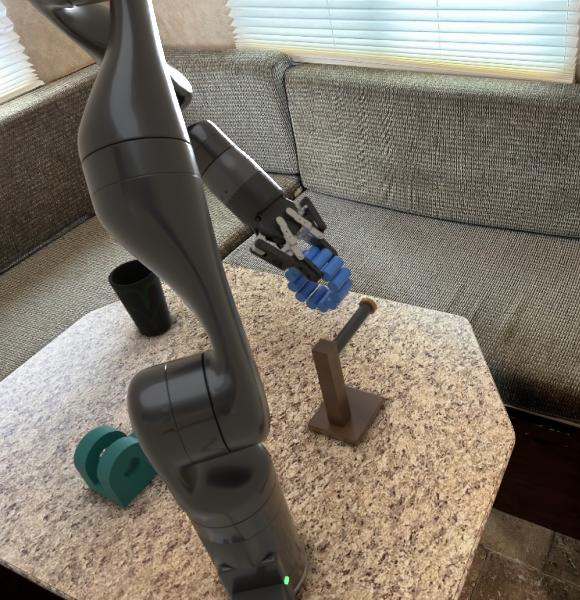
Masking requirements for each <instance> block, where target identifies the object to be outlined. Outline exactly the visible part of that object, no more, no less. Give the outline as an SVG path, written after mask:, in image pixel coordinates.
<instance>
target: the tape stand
mask: <svg viewBox="0 0 580 600" xmlns="http://www.w3.org/2000/svg"><path fill="white" fill-rule="evenodd" d="M356 309H357V310H355V312H353V314H352V315H351V317H350V318H349V319H348V321H346V323H345V325H344V326H343V327H342V328H341V329H340V331H339V332H338V333H337V334H336V336H335V338H333V340H329V339H326V338H323V337H320V338H319V339H318V340H317V342H316V343H315V344H314V345H313V347H312V348H311V349H310V350H311V355H312V359H313V363H314V367H315V371H316V376H317V379H318V383H319V387H320V391H321V396H322V400H323V401H322V403H321V404H320V405H319V407H318V409H317V410H316V411H315V412H314V414H313V416H312V417H311V418H310V419H309V421H308V422H307V427H308V430H310V431H313V432H316V433H319V434H321V435H325V436H328V437H330V438H333V439H336V440H339V441H342V442H345V443H348V444H351V445H354V446H357V447H358V446H359V445H360V443H361V441H362V440H363V438H364V437H365V435H366V434H367V431H368V430H369V429H370V427H371V426H372V424H373V422H374V420H375V419H376V417H377V416H378V414H379V413H380V411H381V410H382V409H383V406H384V404H385V403H386V402H385V396H383V395H379V394H376V393H372V392H369V391H365V390H362V389H359V388H356V387H352V386H349V385H347V384H346V383H345V377H344V372H343V367H342V362H341V359H340V355H341V353H342V352H343V351H344V349H345V348H346V347H347V345H348V344H349V342H350V341H351V340H352V339H353V337H354V336H355V335H356V333H357V332H358V330H359V329H360V328H361V327H362V325H363V324H364V323H365V321H366V320H367V319H368V317H369V316H372V315H373V314H375V313H376V311H377V309H378V305H377V303H376V302H375V301H374V300H373V299H372V298H371V297H363V298H362V299H360V300H359V302H358V308H356Z"/></svg>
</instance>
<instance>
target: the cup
mask: <svg viewBox="0 0 580 600" xmlns="http://www.w3.org/2000/svg"><path fill="white" fill-rule="evenodd" d="M107 281H108V283H109V285H110V286H111V288H112V290H113V291H114V293H115V295H116V297H117V298H118V299H119V301H120V303H121V304H122V306H123V308H124V309H125V310H126V312H127V313H128V314H129V315H128V316H129V317H130V318H131V320H132V322H133V323H134V324H135V326H136V328H137V330H138V331H139V333H140V334H141V335H142V336H144V337H147V338H153V337H157V336H161V335H163V334H164V333H166V332H168V331H169V329H171V327H172V324H173V320H172V316H171V313H170V308H169V305H168V303H167V300H166V296H165V293H164V289H163V286H162V282H161V279H160V278H159V277H158V276H157V275H156V274H154V273H153V272H152V271H151V270H149V269H148V268H147V267H146V266H145V265H143V264H142V263H141V262H140V261H138V260H137V259H132V260H128V261H126V262H123V263H121V264H119V265H117V266H116V267H115V268H113V270H112V271H110V273H109V274H108V277H107Z"/></svg>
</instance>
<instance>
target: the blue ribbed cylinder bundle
mask: <svg viewBox="0 0 580 600" xmlns="http://www.w3.org/2000/svg"><path fill="white" fill-rule="evenodd" d="M301 252H302V253H303V255H304V258H305V257H307V258H308V259H309V260H310V261H311V262H312V263H313V264H314V265H315V266H316V267H317V268H318V269H319V270H321V271H322V273H323V277H322V278H321V279H320V280H323V282H327V284H326V285H323V284H320V285H319V281H318V282H316V283H315V282H313V281H312V282H311V281H309V280H308V279H307V278H306V277H305V276H304V275H303V274H302V273H301V272H300V271H299V270H298V269H296V268H295V267H290V268H288V269H286V270H285V273H284V277H285V279H286V280H287V281H288V283H287V284H286V285H287V288H288V290H289V291H290V292H292V293H295V294H294V298H295V299H296V300H297V301H298V302H299V303H305V305H306V307H307V308H308V309H310V310H312V311H314V310H316V309H317V310H318V311H319V312H321V313H324V314H326V313H327V312H328V311H329V310H330V311H335V310H336V309H338V307H339V306H340V305H341V303H342V302H343V301H344V300H345V299H346V297H347V296H348V295H349V292H350V290H351V288H352V287H353V286H354V282H353V280H352V279H351V276H352V272H351V270H350V268H349V267H347V266H344V264H345V262H344V260H343V258H342V257H340V256H339V257H338V256H334V257H333V254H332V252H331V251H330V250H329V249H327V248H324V249H322V250H321V251H320V249H319V248H318V247H316V246H310V247H309V248H308V249H306V248H305V249H302V250H301ZM332 257H333V258H332ZM331 258H332V259H331ZM330 259H331V260H330ZM329 260H330V261H329Z"/></svg>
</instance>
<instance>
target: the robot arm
mask: <svg viewBox="0 0 580 600" xmlns="http://www.w3.org/2000/svg"><path fill="white" fill-rule="evenodd" d="M26 1H27V2H28V3H29V4H30V5H31V6H32V7H33V9H35V10H36V11H37V12H38V13H40V15H42V17H44V18H45V19H46V20H47V21H48V22H50V23H51V24H52V25H53V26H54V27H56V28H57V29H58V30H59V31H60V32H61V33H62V34H64V35H65V37H67V38H69V39H70V40H71V41H72V42H73V43H74V44H76V45H77V46H78V47H80V48H81V49H82V50H83V51H84V52H85V53H87V54H88V55H89V56H90V57H91V59H92V60H93V61H94V62H95V63H96V65H98V67H99V70H98V73H97V75H96V78H95V80H94V82H93V85H92V88H91V90H90V93H89V96H88V98H87V101H86V103H85V107H84V110H83V113H82V116H81V119H80V124H79V127H78V132H77V143H76V144H77V151H78V157H79V160H80V164H81V169H82V171H83V175H84V179H85V182H86V185H87V189H88V194H89V196H90V199H91V204H92V208H93V211H94V213H95V216H96V218H97V220H98V222H99V223H100V224H101V226H102V227H103V228H104V230H105V231H106V232H107V233H108V235H110V236H111V238H113V240H114V241H115V242H117V243H118V244H119V245H120V246H121V247H122V248H123V249H124V250H125V251H126V252H128V253H129V254H130V255H131V256H132V257H133V258H135V260H138V261H140V262H141V263H142V264H143V265H145V266H146V267H147V268H148V269H149V270H151V271H152V272H153V273H154V274H156V275H157V276H158V277H159V278H160V281H162V282H163V283H164V284H166V285H167V286H168V287H169V289H171V290H172V292H174V294H175V295H177V297H178V298H179V299H180V300H181V301H182V302H183V303H184V305H186V307H188V309H189V310H190V311H191V313H192V314H193V315H194V317H196V320H197V321H198V322H199V324H200V326H201V328H202V329H203V331H204V333H205V334H206V336H207V338H208V340H209V343H210V347H211V348H210V349H207V350H205V351H200V352H196V353H193V354H188V355H186V356H183V357H180V358H179V357H178V358H176V359H172V360H169V361H168V360H167V361H165V362H161V363H157V364H154V365H151V366H148V367H145V368H143V369H140V370H139V371H137V372H136V373H135V374H134V375H133V376H132V378H131V379H130V381H129V384H128V387H127V392H126V407H127V414H128V419H129V422H130V425H131V429H132V432H133V431H134V433H135V436H136V438H137V440H138V442H139V444H140V446H141V448H142V450H143V452H144V454H145V455H146V457H147V458H148V460H149V462H150V463H151V465H152V466H153V468H154V469H155V471H156V472H157V473H158V474H157V475H158V477H159V478H161V481H162V482H163V484H164V485H165V486H166V488H167V490H168V491H169V493H170V494H171V496H172V497H173V499H174V501H175V502H176V504H177V506H178V507H179V508H180V509H181V510H182V511H183V512H184V513H185V514H186V516H187V518H188V519H189V522H190V523H191V525H192V527H193V529H194V530H195V531H194V532H196V534H197V536H198V538H199V540H200V541H201V544H202V546H203V547H204V549H205V551H206V552H207V554H208V556H209V558H210V560H211V561H212V563H213V566H214V567H215V569H216V570H217V571H216V572H217V577H218V578H219V581H220V582H221V584H222V585H223V587H224V589H225V591H226V593H227V594H228V596H229V598H230V600H296V596H297V593H298V592H299V591H300V590H301V588H302V586H303V584H304V583H305V580H306V578H307V574H308V569H309V561H308V560H309V559H308V555H307V552H306V549H305V547H304V545H303V543H302V541H301V538H300V534H299V533H298V530H297V526H296V524H295V522H294V519H293V515H292V513H291V510H290V508H289V505H288V502H287V499H286V496H285V492H284V491H283V488H282V484H281V482H280V479H279V477H278V473H277V471H276V467H275V464H274V462H273V460H272V457H271V454H270V452H269V450H268V448H267V447H266V446H265V445H264V443H263V442H265V441H266V440H267V438H268V437H269V435H270V432H271V422H272V421H271V412H270V406H269V402H268V397H267V393H266V390H265V386H264V383H263V381H262V377H261V373H260V370H259V367H258V365H257V362H256V359H255V357H254V353H253V350H252V347H251V345H250V341H249V339H248V335H247V333H246V330H245V327H244V325H243V321H242V318H241V316H240V313H239V309H238V307H237V304H236V301H235V298H234V295H233V292H232V289H231V287H230V283H229V281H228V278H227V277H228V276H227V274H226V271H225V268H224V267H225V266H224V263H223V260H222V256H221V253H220V250H219V246H218V242H217V237H216V233H215V230H214V224H213V221H212V216H211V213H210V208H209V205H208V201H207V200H208V199H207V197H206V193H205V188H204V185H205V187H206V188H207V189H208V190H209V192H210V193H211V194H212V195H213V196H214V197H215V198H216V199H217V200H218V201H219V202H220V203H221V204H222V205H223V206H224V207H225V208H227V210H229V212H231V213H232V214H233V215H234V216H235V217H236V218H237V219H238V221H240V222H241V223H242V224H243V225H244V226H245V227H250V228H251V229H252V230H253V232H254V235H255V236H256V237H255V240H254V242H253V244H251V246H250V247H249V249H248V250H249V253H251V254H252V255H253V256H255V257H257V258H259V259H261V260H262V261H264V262H266V263H268V264H270V265H271V266H273V267H275V268H276V269H278V270H280V271H282V272H284V271H285V272H286V271H287V270H288V268H290V267H295V268H296V269H298V270H299V271H300V272H301V273H302V274H303V275H304V276H305V277H306V278H307V279H308V280H309V281H311V282H312V281H313V282H315V283H316V282H318V283H319V281H320V280H322V279H321V278H322V277H323V273H322V271H321V270H322V269H321V270H319V269H318V268H317V267H316V266H315V265H314V264H313V263H312V262H311V261H310V260H309V259H308V258H307V257H305V258H304V255H303V253H302V252H301V251H302V250H301V249H300V248H299V246H298V241H303V242H305V243H307V245H310V247H312V246H316V247H318V248H319V249H320V251H321V250H322V249H324V248H327V249H329V250H330V251H331V252H332V254H333V257H334V256H338V257H340V255H339V254H338V251H337V250H336V249H335V248H334V247H333V246H332V245H331V244H330V243H329V242H328V241H327V240H326V239H325V236H324V234H325V231H326V230H327V228H328V227H327V224H326V223H325V221H324V219H323V217H322V216H321V215H320V212H319V211H318V210H317V208H316V207H315V205H314V203H313V202H312V200H311V198H310V197H308V196H303V197H302V198H301V199H300V200H298V201H293V200H291V199H289V198H287V197H286V196H285V195H284V190H283V188H282V187H281V186H280V185H279V184H278V183H277V182H276V181H274V179H272V177H271V176H270V175H269V174H268V173H267V172H265V170H264V169H262V167H261V166H260V165H259V164H258V163H256V161H255V160H254V159H253V158H252V157H250V156H249V155H248V154H247V153H246V152H245V151H243V150H241V149H240V148H239V147H238V146H237V145H236V144H235V143H234V142H233V141H232V140H231V139H230V138H229V137H228V136H227V135H226V134H225V133H224V132H223V131H222V130H221V129H220V128H219V127H218V126H217V125H216V124H215V123H214V122H212V121H211V120H209V119H206V118H204V119H199V120H197V121H195V122H193V123H190V124H189V125H186V123H185V120H184V117H183V114H182V113H183V112H185V111H186V110H187V109H188V108H189V107H190V105H191V104H192V100H193V95H194V93H193V92H194V91H193V89H192V88H193V87H192V85H191V84H190V82H189V81H188V79H187V78H186V77H185V76H184V75H183V74H182V73H181V72H180V71H179V70H178V69H176V67H174V66H173V65H172V64H169V63H168V62H166V59H165V54H164V50H163V47H162V42H161V38H160V33H159V29H158V25H157V21H156V16H155V11H154V6H153V2H152V0H26ZM107 2H109V5H107V4H106V3H107ZM203 184H204V185H203ZM297 240H298V241H297ZM271 243H272V244H271ZM333 257H332V258H333ZM332 258H331V259H332ZM331 259H330V260H331ZM330 260H329V261H330Z"/></svg>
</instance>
